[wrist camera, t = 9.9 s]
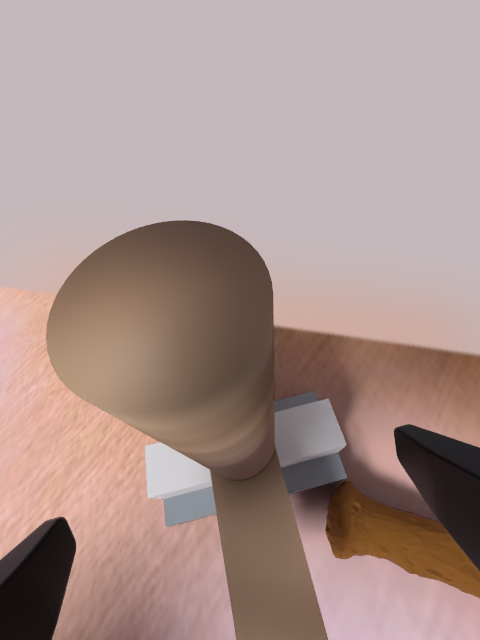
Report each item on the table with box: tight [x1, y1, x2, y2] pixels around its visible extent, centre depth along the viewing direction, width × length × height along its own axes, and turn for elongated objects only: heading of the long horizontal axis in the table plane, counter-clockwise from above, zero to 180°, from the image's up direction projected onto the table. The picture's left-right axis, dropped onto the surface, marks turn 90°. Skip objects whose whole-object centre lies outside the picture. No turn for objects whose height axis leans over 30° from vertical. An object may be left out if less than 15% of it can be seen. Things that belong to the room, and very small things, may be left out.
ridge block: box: [145, 391, 347, 527], centre depth 17 cm, size 10×5×4 cm, turn 103°
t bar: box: [46, 221, 328, 640], centre depth 10 cm, size 14×3×13 cm, turn 13°
